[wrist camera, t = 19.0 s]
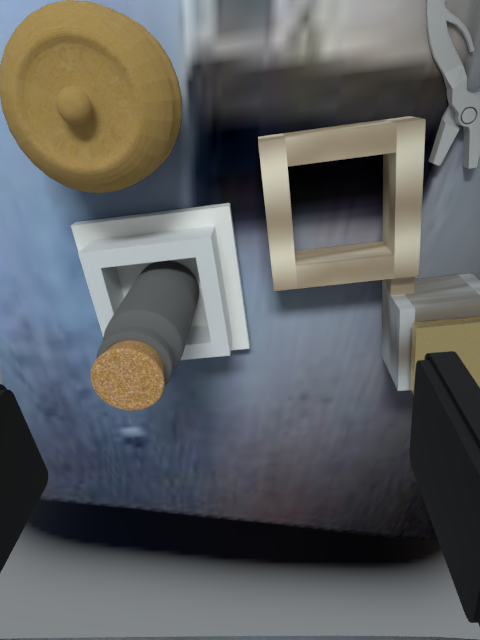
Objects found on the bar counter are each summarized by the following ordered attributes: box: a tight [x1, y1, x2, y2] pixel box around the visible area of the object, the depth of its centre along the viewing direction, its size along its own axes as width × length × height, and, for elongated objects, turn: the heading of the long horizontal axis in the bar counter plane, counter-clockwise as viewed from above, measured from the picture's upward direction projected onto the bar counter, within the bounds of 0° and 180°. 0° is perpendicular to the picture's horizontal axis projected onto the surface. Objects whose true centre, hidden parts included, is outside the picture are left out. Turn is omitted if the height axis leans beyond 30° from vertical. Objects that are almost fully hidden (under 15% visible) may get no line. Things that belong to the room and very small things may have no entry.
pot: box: [0, 0, 182, 193], centre depth 32 cm, size 12×12×10 cm
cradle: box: [71, 203, 250, 360], centre depth 42 cm, size 14×14×5 cm
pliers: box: [426, 0, 480, 169], centre depth 34 cm, size 10×2×15 cm
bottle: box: [91, 260, 199, 411], centre depth 36 cm, size 6×6×15 cm
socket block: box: [258, 116, 480, 391], centre depth 39 cm, size 22×18×6 cm
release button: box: [410, 316, 480, 395], centre depth 40 cm, size 6×6×6 cm
